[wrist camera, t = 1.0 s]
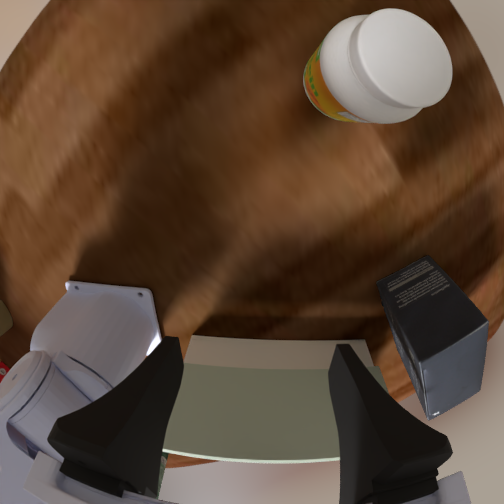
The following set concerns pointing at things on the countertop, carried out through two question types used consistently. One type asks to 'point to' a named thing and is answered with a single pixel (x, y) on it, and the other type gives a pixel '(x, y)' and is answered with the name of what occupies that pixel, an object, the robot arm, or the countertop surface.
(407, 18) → the supplement bottle
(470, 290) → the countertop surface
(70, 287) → the robot arm
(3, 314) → the olive pepper mill
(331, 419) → the lid
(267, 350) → the keepsake box
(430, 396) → the box
